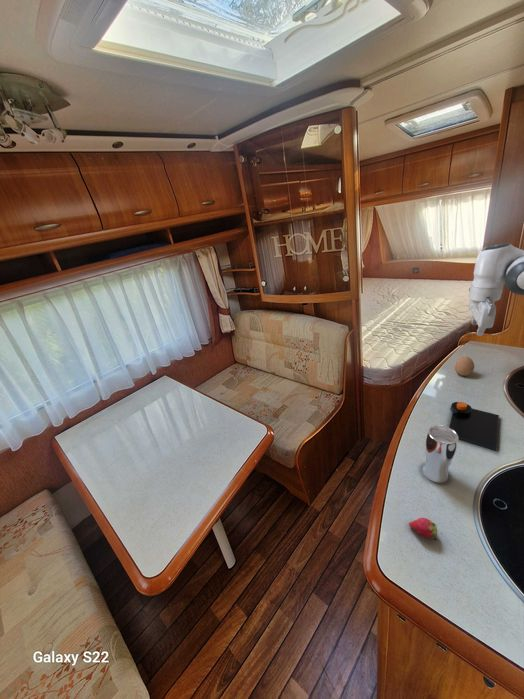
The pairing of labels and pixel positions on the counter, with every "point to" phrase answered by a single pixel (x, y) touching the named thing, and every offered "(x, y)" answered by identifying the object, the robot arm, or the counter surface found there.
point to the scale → (475, 426)
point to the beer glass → (439, 452)
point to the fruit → (424, 528)
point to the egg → (464, 366)
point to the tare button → (461, 406)
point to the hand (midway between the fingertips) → (476, 329)
